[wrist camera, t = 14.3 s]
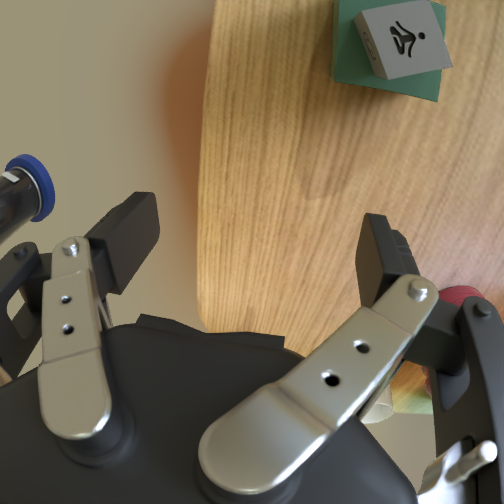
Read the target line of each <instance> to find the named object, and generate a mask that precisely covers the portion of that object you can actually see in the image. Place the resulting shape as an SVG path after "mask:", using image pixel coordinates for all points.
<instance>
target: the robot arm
mask: <svg viewBox="0 0 504 504" xmlns="http://www.w3.org/2000/svg"><path fill="white" fill-rule="evenodd" d="M42 207H43V196H42V191H41V188H40V185H39V183H38V181H37V179H36V178H35V176H34V175H33V174H32V173H31V172H30V171H29V170H28V169H27V168H25V167H23V166H15V167H13V168H11V169H10V170H9V171H8V172H7V171H6V172H5V173H3V174H2V175H1V176H0V246H1V245H2V244H3V243H4V242H6V241H7V240H8V239H9V238H10V237H11V236H12V235H13V234H14V233H16V232H17V231H18V230H19V229H20V228H21V227H22V226H24V225H25V224H26V223H27V222H28V221H30V220H31V219H32V218H33V217H35V216H37V215H38V214H39V213H40V212H41V210H42ZM159 234H160V225H159V218H158V211H157V203H156V197H155V194H154V193H152V192H134V193H133V194H132V195H131V196H130V197H128V198H127V199H126V200H125V201H124V202H123V203H121V204H120V205H118V206H116V207H114V208H112V209H111V210H110V211H109V212H108V213H107V214H106V215H105V216H104V217H103V218H102V219H101V220H100V222H98V223H97V224H96V225H95V226H94V227H93V228H92V229H91V230H90V231H89V232H88V233H87V234H86V235H85V236H84V237H80V236H76V237H70V238H67V239H65V240H63V241H61V242H60V243H58V244H57V245H56V246H55V248H54V249H53V252H52V253H45V254H39V252H38V249H37V246H36V244H35V243H33V242H24V243H21V244H18V245H17V246H15V247H13V248H12V249H11V250H10V251H9V252H8V253H7V254H6V255H5V256H4V257H3V258H2V259H1V260H0V504H504V325H503V323H502V320H501V318H500V315H499V313H498V311H497V309H496V308H495V307H494V306H493V305H492V304H491V303H490V302H489V301H488V300H486V299H484V298H482V297H479V296H468V297H466V298H465V299H464V301H463V303H462V305H461V306H458V305H455V304H452V303H449V302H446V301H444V300H441V299H439V293H438V290H437V288H436V287H435V285H434V284H433V283H431V282H430V281H429V280H427V279H426V278H424V277H421V276H420V273H419V270H418V268H417V265H416V263H415V260H414V257H413V256H412V253H411V250H410V249H409V245H408V243H407V240H406V238H405V237H404V236H403V235H402V234H401V233H400V232H399V231H398V230H392V229H391V228H390V225H389V223H388V220H387V218H386V216H385V215H379V214H371V213H366V214H365V215H364V219H363V223H362V228H361V232H360V237H359V241H358V245H357V250H356V258H355V265H356V272H357V279H358V286H359V293H360V301H361V307H360V308H359V309H358V310H357V311H356V312H355V313H354V314H353V315H352V316H351V317H350V318H349V319H347V320H346V321H345V322H344V323H343V324H342V325H341V326H340V327H339V328H338V329H337V330H336V331H335V332H334V333H333V334H332V335H330V336H329V337H328V338H327V339H326V340H325V341H324V342H323V343H322V344H321V345H319V346H318V347H317V348H316V349H315V350H314V351H313V352H312V353H310V354H309V355H308V356H307V357H306V358H305V357H303V356H301V355H300V354H298V353H296V352H294V351H291V350H289V349H286V348H283V347H284V340H285V336H277V335H269V334H261V333H254V332H229V333H204V332H201V331H199V330H196V329H194V328H191V327H189V326H187V325H184V324H182V323H180V322H177V321H175V320H171V319H166V318H161V317H156V316H151V315H146V314H140V316H139V318H138V320H137V321H136V323H134V324H124V325H119V326H115V327H113V323H112V319H111V315H110V310H109V306H108V302H107V299H106V295H107V293H113V294H118V295H121V294H122V292H123V291H124V289H125V288H126V286H127V285H128V283H129V282H130V280H131V279H132V277H133V276H134V274H135V273H136V272H137V270H138V269H139V267H140V266H141V264H142V263H143V261H144V260H145V259H146V257H147V256H148V254H149V253H150V251H151V250H152V249H153V247H154V246H155V244H156V243H157V241H158V238H159ZM18 289H19V291H20V293H21V295H22V297H23V299H24V301H25V303H24V305H23V306H22V307H21V309H20V310H19V311H18V313H17V314H16V316H15V317H14V319H13V320H12V321H11V320H10V318H9V316H8V314H7V304H8V301H9V300H10V299H11V297H12V296H13V295H14V294H15V292H16V291H17V290H18ZM41 336H42V363H41V364H39V366H38V367H36V368H34V369H33V370H30V371H29V372H27V373H25V374H23V375H21V376H19V377H18V375H19V373H20V371H21V370H22V368H23V366H24V364H25V363H26V361H27V359H28V358H29V356H30V354H31V353H32V351H33V349H34V348H35V346H36V345H37V343H38V341H39V340H40V338H41ZM406 360H407V361H410V362H413V363H416V364H419V365H422V366H425V367H428V372H429V380H430V387H431V395H432V404H433V414H434V425H435V438H436V459H435V460H433V461H432V462H431V463H430V464H429V465H428V466H427V468H426V470H425V472H424V475H423V480H422V485H421V488H420V490H419V492H418V494H416V491H415V489H414V487H413V485H412V484H411V482H410V481H409V479H408V478H407V477H406V476H405V474H404V473H403V472H402V471H401V470H400V468H399V467H398V466H397V465H396V463H395V462H394V461H393V460H392V459H391V457H390V456H389V455H388V454H387V453H386V451H385V450H384V449H383V448H382V447H381V445H380V444H379V443H378V442H377V440H376V439H375V438H374V437H373V435H372V434H371V433H370V432H369V430H368V429H367V428H366V427H365V426H364V424H363V423H362V422H361V420H362V419H363V418H364V416H365V415H366V414H367V413H368V411H369V410H370V409H371V407H372V406H373V404H374V403H375V402H376V400H377V399H378V398H379V396H380V395H381V394H382V393H383V391H384V390H385V389H386V387H387V386H388V385H389V383H390V382H391V381H392V379H393V378H394V377H395V375H396V374H397V372H398V371H399V370H400V368H401V367H402V365H403V364H404V363H405V361H406ZM17 377H18V378H17Z"/></svg>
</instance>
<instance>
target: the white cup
mask: <svg viewBox="0 0 504 504" xmlns="http://www.w3.org/2000/svg"><path fill="white" fill-rule="evenodd" d="M393 412H394V410H393V401H392V393H391V386H390V383H389V385H388V386H387V387H386V389H385V390H384V391H383V393H382V394H381V395H380V396H379V398H378V399H377V400H376V402H375V403H374V404H373V406H372V407H371V409H370V410H369V411H368V413H367V414H366V415H365V416H364V418H363V419H362V420H361V422H362V423H363V424H372V423H377V422H381V421H383V420H386V419H387V418H389V417H390V416H391V415H392V414H393Z"/></svg>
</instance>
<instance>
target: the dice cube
mask: <svg viewBox="0 0 504 504" xmlns="http://www.w3.org/2000/svg"><path fill="white" fill-rule="evenodd" d="M353 21H354V23H355V26H356V28H357V30H358V33H359V35H360V37H361V40H362V42H363V45H364V47H365V50H366V52H367V55H368V58H369V60H370V63H371V66H372V68H373V71H374V74H375V76H378V77H381V78H384V79H387V80H390V79H394V78H399V77H403V76H408V75H413V74H418V73H423V72H428V71H433V70H439V69H444V68H450V67H453V66H452V63H451V59H450V56H449V53H448V50H447V47H446V44H445V41H444V38H443V35H442V32H441V29H440V26H439V24H438V21H437V18H436V16H435V13H434V11H433V8H432V6H431V3H430V1H429V0H419V1H412V2H405V3H399V4H393V5H387V6H382V7H377V8H372V9H368V10H363V11H361V12H360V13H359V14H358V15H357V16H355V17H354V18H353Z"/></svg>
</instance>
